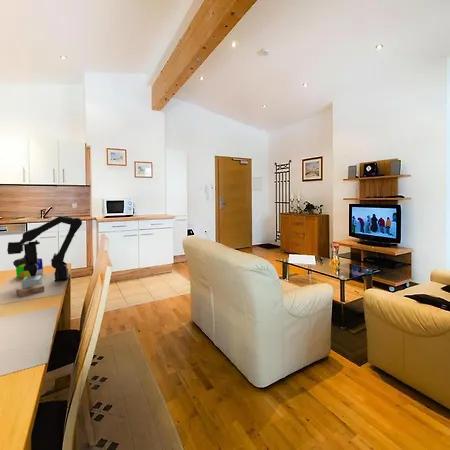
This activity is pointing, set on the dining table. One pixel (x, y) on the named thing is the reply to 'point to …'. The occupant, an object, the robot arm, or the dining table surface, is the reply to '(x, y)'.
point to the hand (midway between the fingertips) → (33, 278)
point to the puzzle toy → (23, 273)
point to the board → (29, 290)
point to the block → (31, 281)
